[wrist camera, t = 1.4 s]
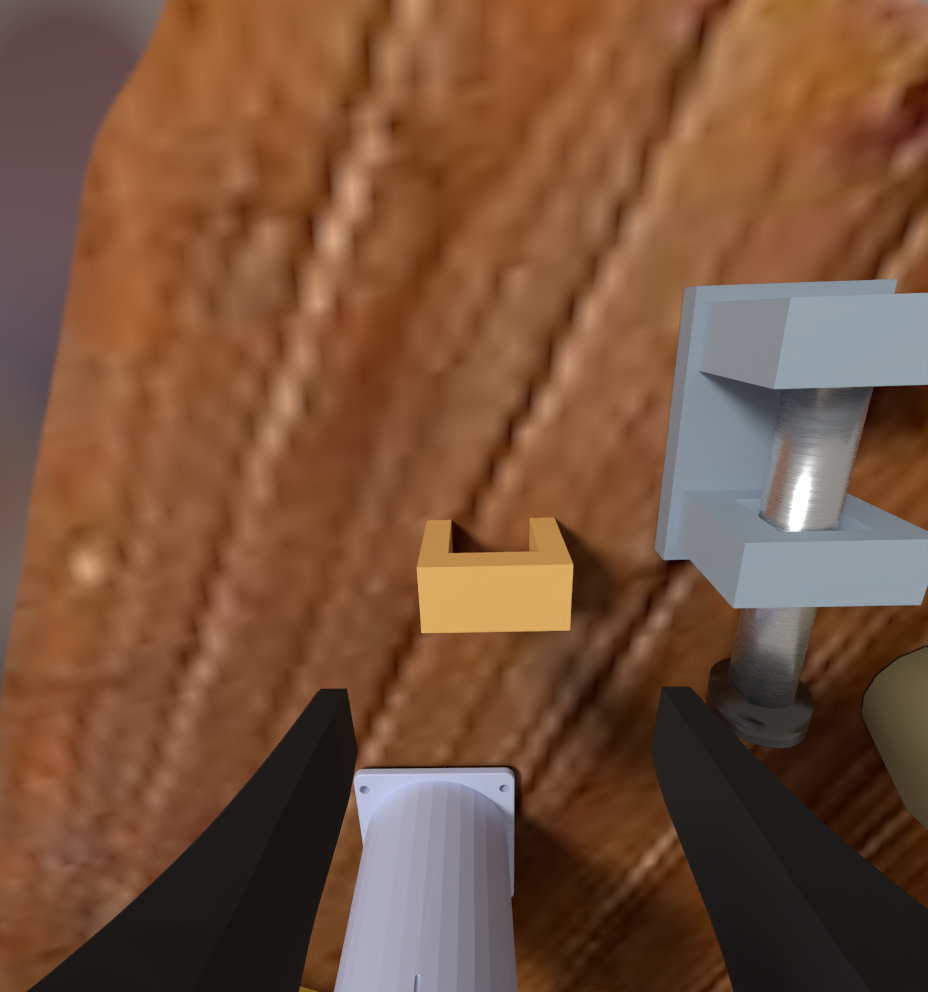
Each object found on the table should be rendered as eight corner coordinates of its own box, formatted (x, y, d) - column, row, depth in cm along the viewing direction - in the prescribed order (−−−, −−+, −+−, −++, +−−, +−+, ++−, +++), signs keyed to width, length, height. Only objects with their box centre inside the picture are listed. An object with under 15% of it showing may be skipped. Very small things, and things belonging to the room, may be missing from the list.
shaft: (773, 680, 21) (829, 748, 17) (691, 681, 21) (731, 748, 17) (844, 375, 16) (935, 389, 13) (740, 378, 16) (805, 393, 13)
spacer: (552, 573, 21) (570, 630, 17) (430, 576, 21) (421, 633, 17) (554, 517, 20) (573, 564, 16) (426, 520, 20) (416, 567, 16)
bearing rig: (811, 545, 20) (927, 624, 15) (654, 548, 20) (716, 627, 15) (873, 281, 17) (1052, 266, 12) (684, 287, 17) (777, 275, 12)
